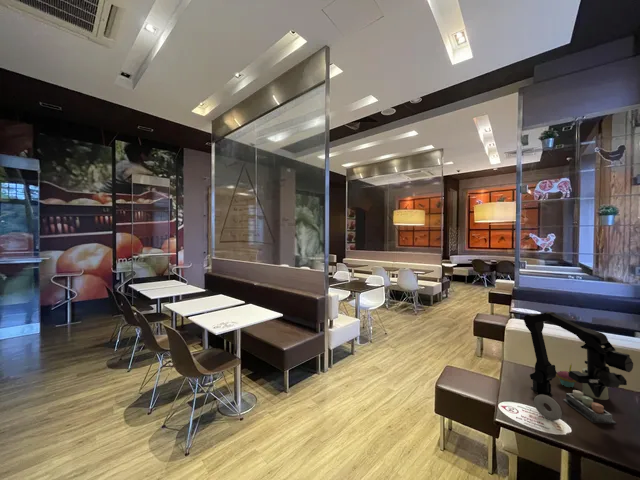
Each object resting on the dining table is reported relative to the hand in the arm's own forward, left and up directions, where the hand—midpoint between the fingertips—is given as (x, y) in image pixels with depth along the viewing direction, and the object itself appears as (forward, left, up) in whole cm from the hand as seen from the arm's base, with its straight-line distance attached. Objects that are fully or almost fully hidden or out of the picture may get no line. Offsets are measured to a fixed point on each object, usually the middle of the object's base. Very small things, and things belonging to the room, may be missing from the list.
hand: (597, 397), depth 115 cm
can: (+16, +20, -10) cm, 27 cm away
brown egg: (0, 0, -7) cm, 7 cm away
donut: (-21, -2, -10) cm, 24 cm away
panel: (0, +5, -9) cm, 11 cm away
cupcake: (+9, +28, -10) cm, 31 cm away
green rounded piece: (0, +5, -7) cm, 8 cm away
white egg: (0, +10, -7) cm, 12 cm away
